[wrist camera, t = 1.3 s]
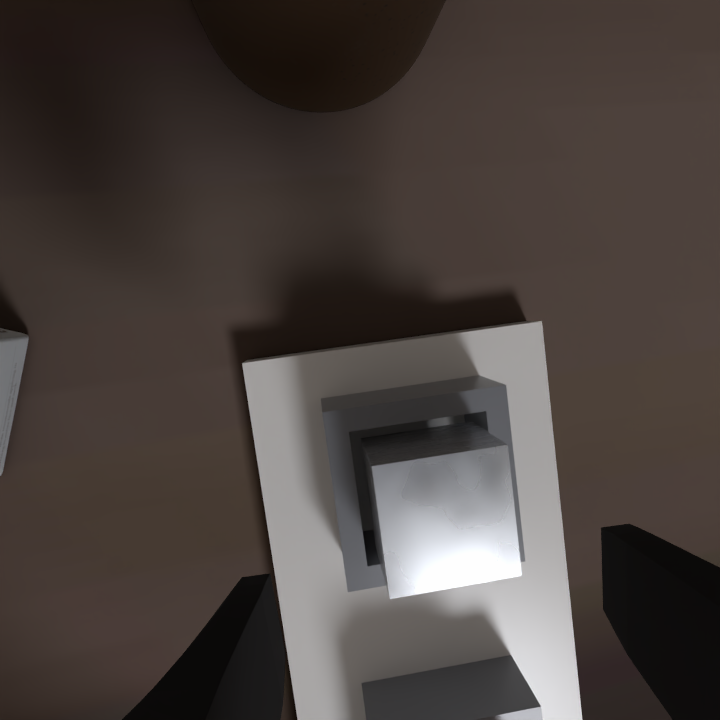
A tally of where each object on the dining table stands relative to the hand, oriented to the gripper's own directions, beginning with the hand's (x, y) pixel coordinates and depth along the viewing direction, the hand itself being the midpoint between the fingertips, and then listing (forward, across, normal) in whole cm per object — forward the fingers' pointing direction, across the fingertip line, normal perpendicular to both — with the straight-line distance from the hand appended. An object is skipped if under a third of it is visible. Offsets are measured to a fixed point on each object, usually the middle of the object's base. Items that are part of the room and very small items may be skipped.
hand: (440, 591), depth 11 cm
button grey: (+7, -1, +1) cm, 8 cm away
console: (+11, 0, +8) cm, 13 cm away
